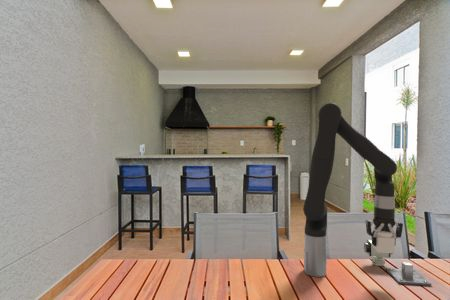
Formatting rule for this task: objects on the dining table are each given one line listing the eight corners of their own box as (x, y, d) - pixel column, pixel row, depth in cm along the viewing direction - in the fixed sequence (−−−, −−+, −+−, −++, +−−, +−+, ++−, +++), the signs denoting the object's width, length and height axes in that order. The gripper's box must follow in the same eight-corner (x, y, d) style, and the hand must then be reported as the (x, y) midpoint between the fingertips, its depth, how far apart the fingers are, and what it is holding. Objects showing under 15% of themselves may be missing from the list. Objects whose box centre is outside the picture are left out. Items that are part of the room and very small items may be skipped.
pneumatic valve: (393, 267, 129) (393, 242, 129) (366, 265, 131) (366, 240, 131) (389, 263, 134) (389, 238, 134) (363, 261, 137) (363, 236, 137)
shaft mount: (398, 283, 113) (398, 269, 113) (385, 270, 126) (385, 257, 126) (431, 286, 111) (431, 271, 111) (414, 272, 124) (414, 258, 124)
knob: (378, 252, 113) (378, 231, 113) (372, 247, 119) (373, 227, 119) (394, 253, 112) (395, 232, 112) (388, 248, 118) (388, 228, 118)
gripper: (369, 207, 113) (368, 248, 113) (407, 209, 111) (406, 250, 111) (362, 203, 121) (362, 242, 121) (398, 205, 118) (397, 244, 118)
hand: (383, 246), depth 116 cm, fingers closed on knob, 6 cm apart
